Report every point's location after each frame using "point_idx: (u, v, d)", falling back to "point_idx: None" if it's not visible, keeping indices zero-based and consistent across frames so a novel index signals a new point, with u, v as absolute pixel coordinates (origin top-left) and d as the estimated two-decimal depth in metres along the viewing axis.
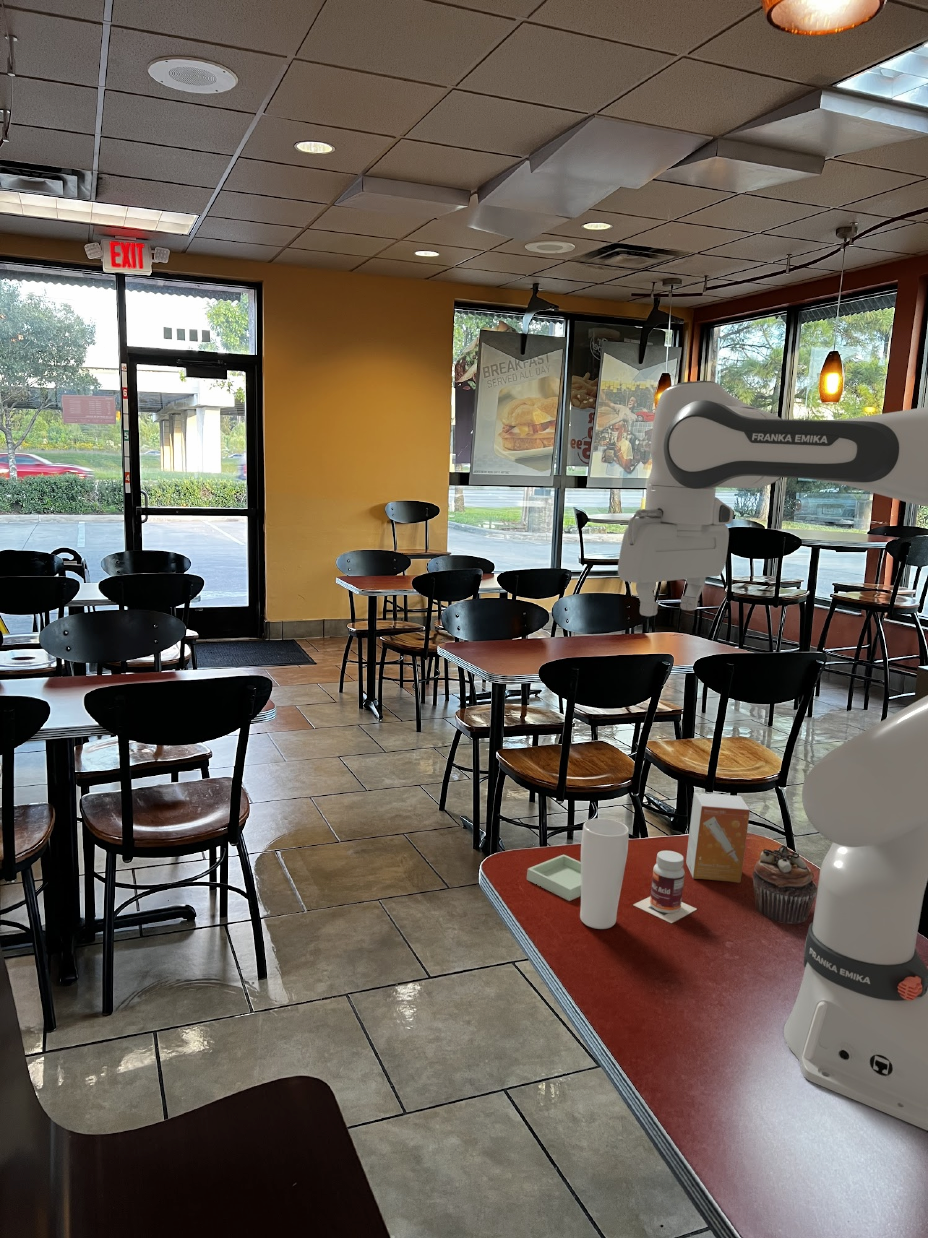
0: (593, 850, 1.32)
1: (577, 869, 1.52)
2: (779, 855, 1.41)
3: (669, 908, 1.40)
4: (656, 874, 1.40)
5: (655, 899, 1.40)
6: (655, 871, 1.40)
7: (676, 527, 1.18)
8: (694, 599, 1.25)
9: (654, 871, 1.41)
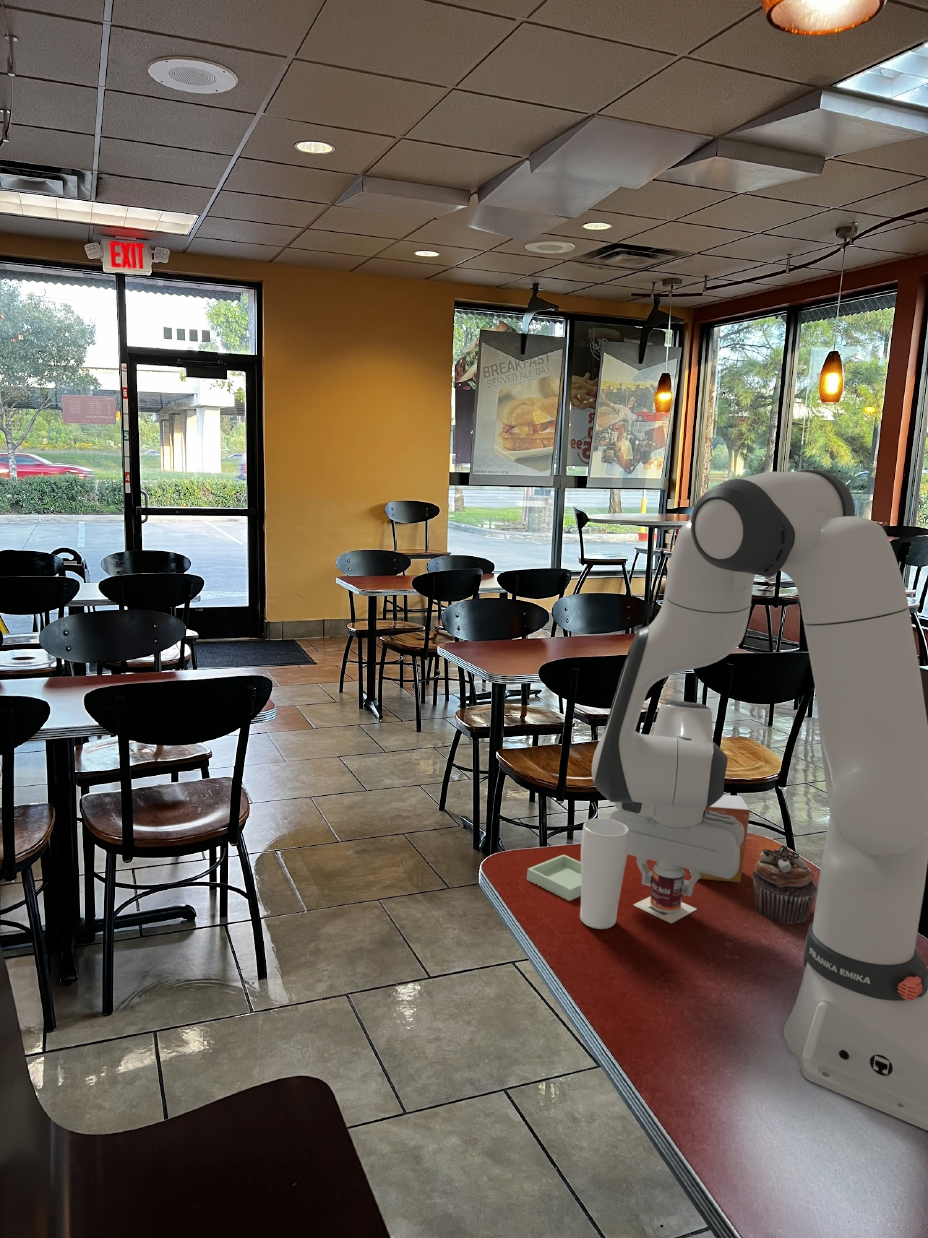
0: (593, 850, 1.32)
1: (577, 869, 1.52)
2: (779, 855, 1.41)
3: (669, 908, 1.40)
4: (656, 874, 1.40)
5: (655, 899, 1.40)
6: (655, 871, 1.40)
7: None
8: (650, 872, 1.43)
9: (654, 871, 1.41)
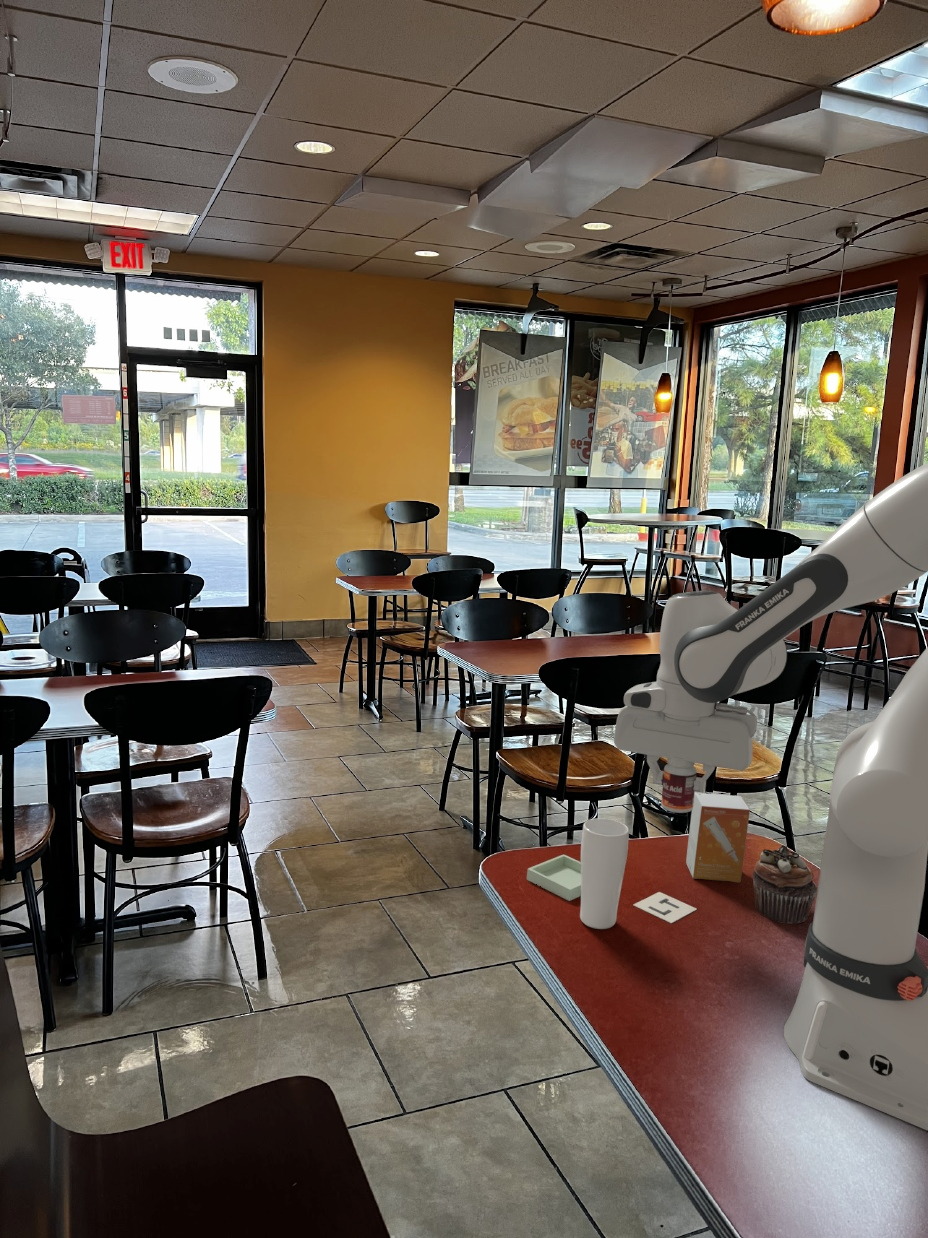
0: (593, 850, 1.32)
1: (577, 869, 1.52)
2: (779, 855, 1.41)
3: (681, 808, 1.36)
4: (667, 772, 1.37)
5: (667, 799, 1.37)
6: (666, 770, 1.37)
7: None
8: (661, 772, 1.40)
9: (665, 770, 1.38)
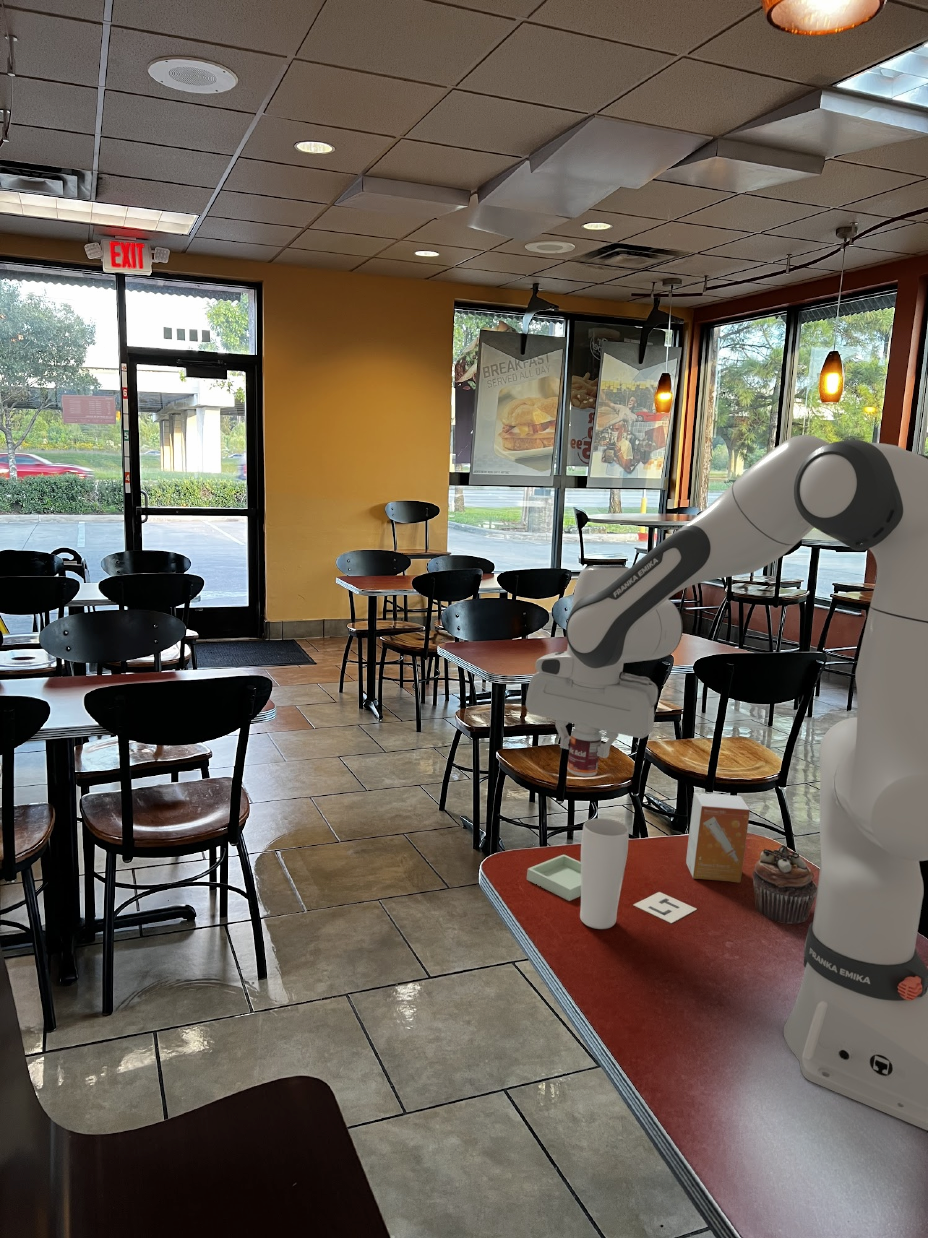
0: (593, 850, 1.32)
1: (577, 869, 1.52)
2: (779, 855, 1.41)
3: (584, 771, 1.43)
4: (573, 737, 1.43)
5: (572, 763, 1.44)
6: (572, 735, 1.44)
7: None
8: (569, 737, 1.46)
9: (571, 735, 1.44)
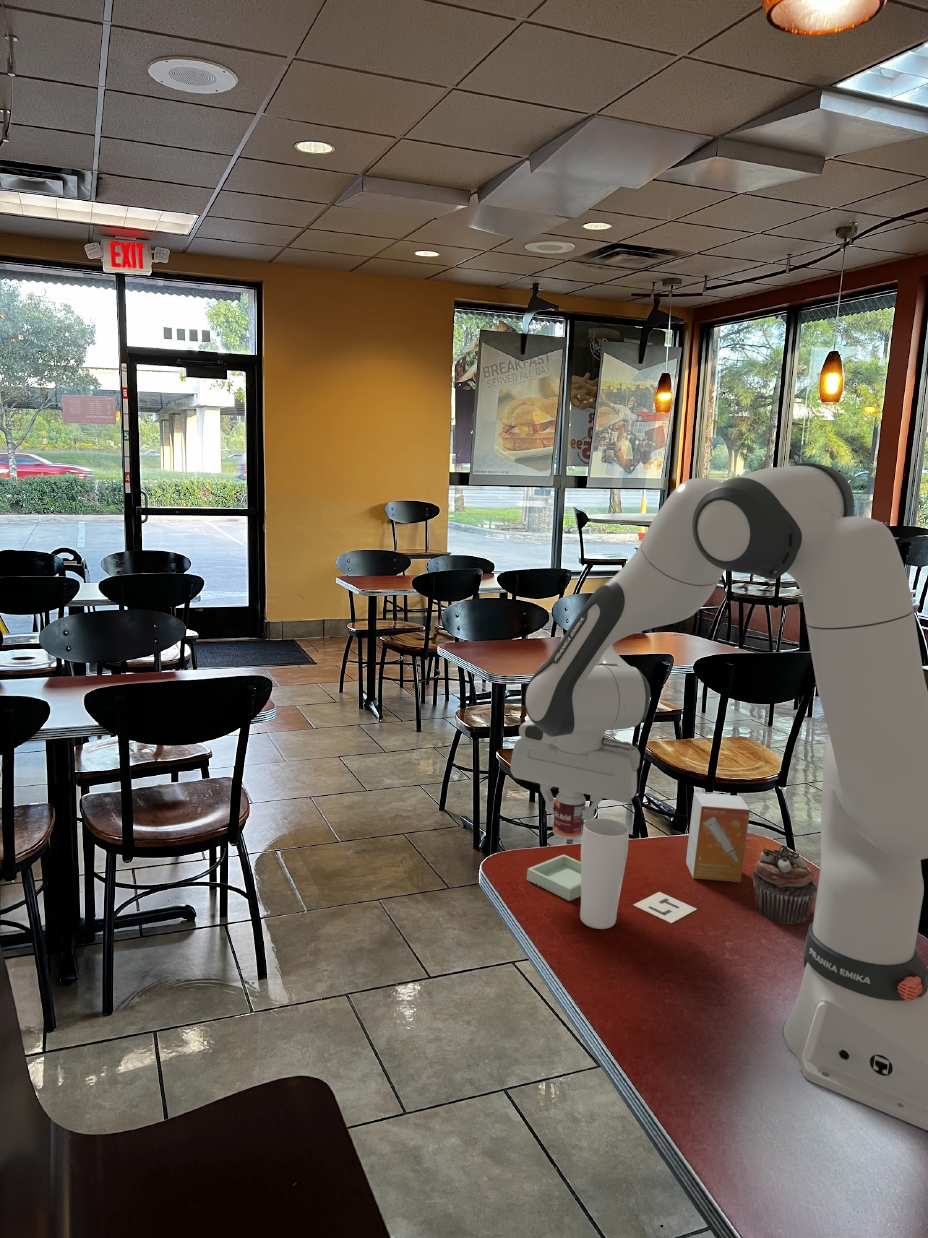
0: (593, 850, 1.32)
1: (577, 869, 1.52)
2: (779, 855, 1.41)
3: (570, 835, 1.45)
4: (558, 801, 1.45)
5: (557, 826, 1.45)
6: (557, 798, 1.45)
7: None
8: (554, 800, 1.48)
9: (556, 799, 1.46)
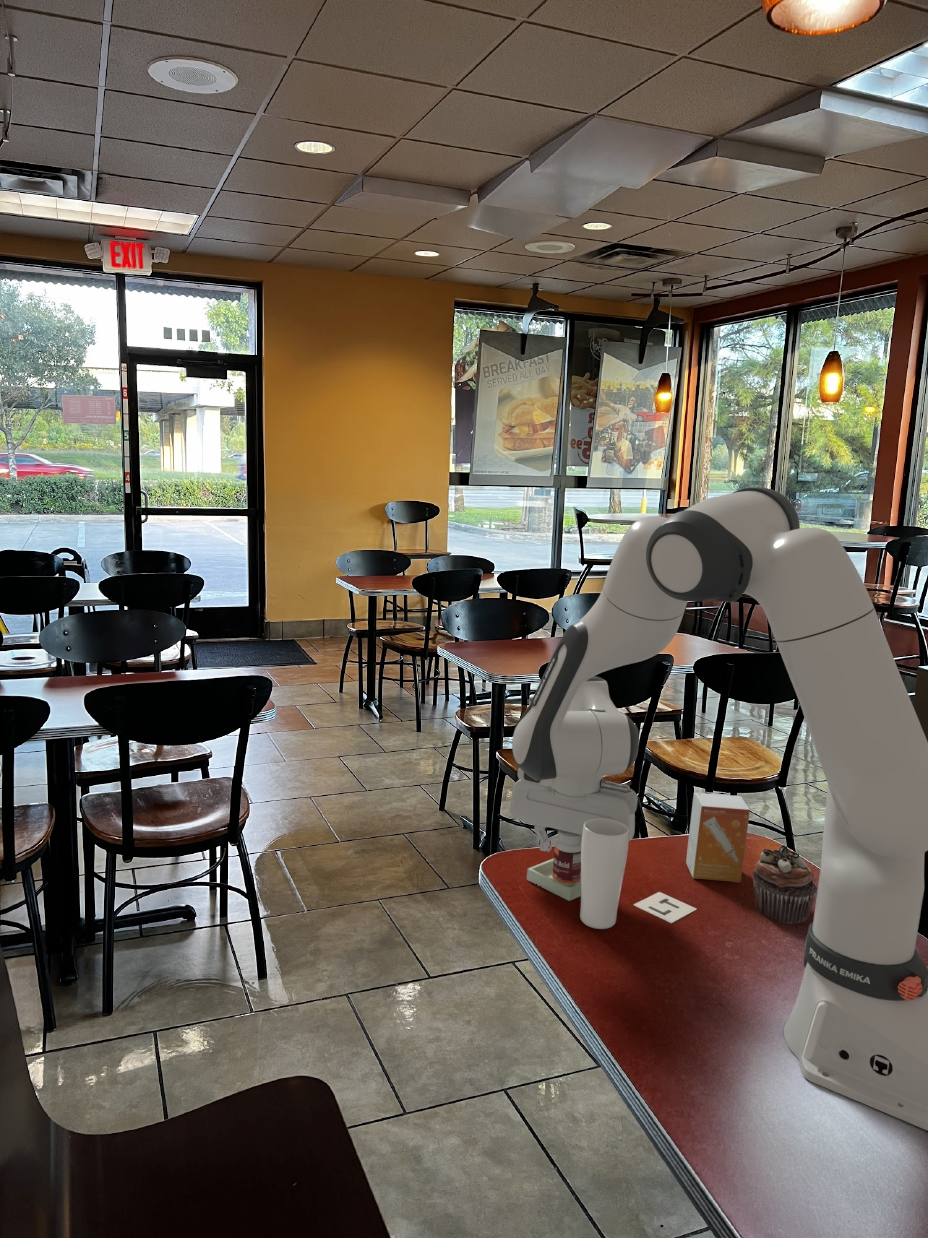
0: (593, 850, 1.32)
1: None
2: (779, 855, 1.41)
3: (569, 882, 1.46)
4: (557, 849, 1.46)
5: (556, 873, 1.47)
6: (555, 846, 1.47)
7: None
8: (548, 839, 1.50)
9: (555, 846, 1.47)
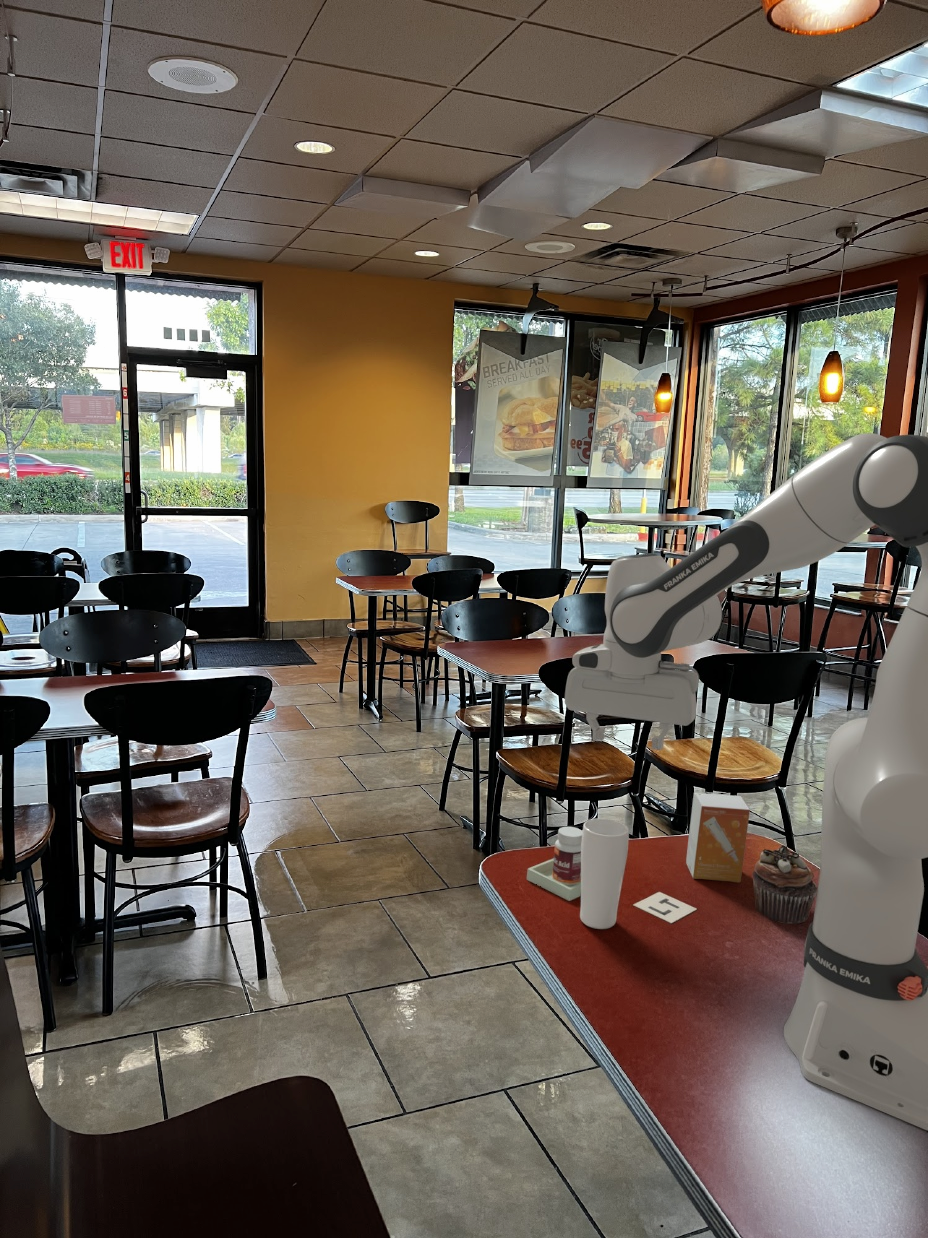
0: (593, 850, 1.32)
1: None
2: (779, 855, 1.41)
3: (569, 882, 1.46)
4: (557, 848, 1.46)
5: (556, 873, 1.47)
6: (556, 845, 1.47)
7: None
8: (600, 729, 1.46)
9: (555, 846, 1.47)
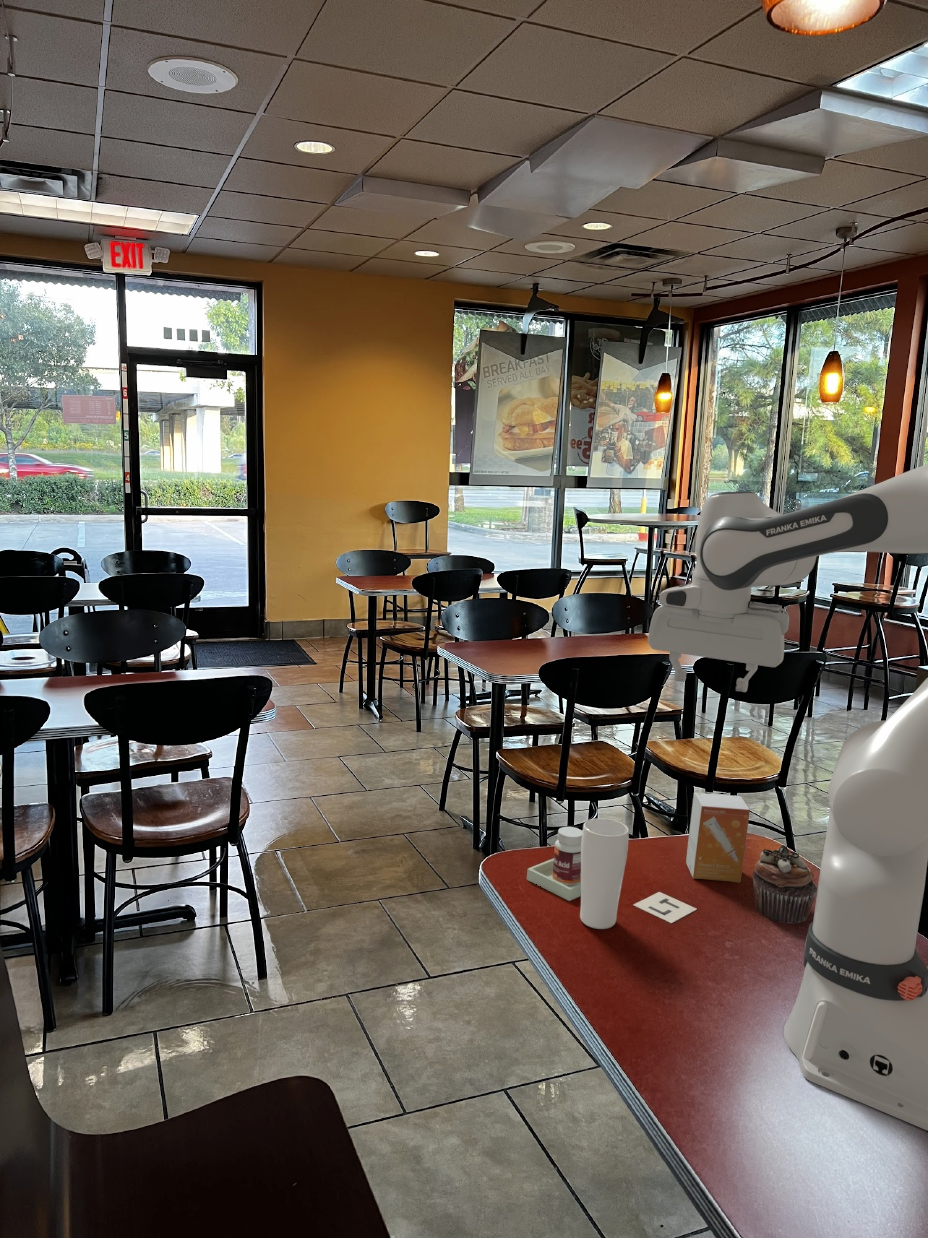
0: (593, 850, 1.32)
1: None
2: (779, 855, 1.41)
3: (569, 882, 1.46)
4: (557, 848, 1.46)
5: (556, 873, 1.47)
6: (556, 846, 1.47)
7: None
8: (682, 670, 1.45)
9: (555, 846, 1.47)
